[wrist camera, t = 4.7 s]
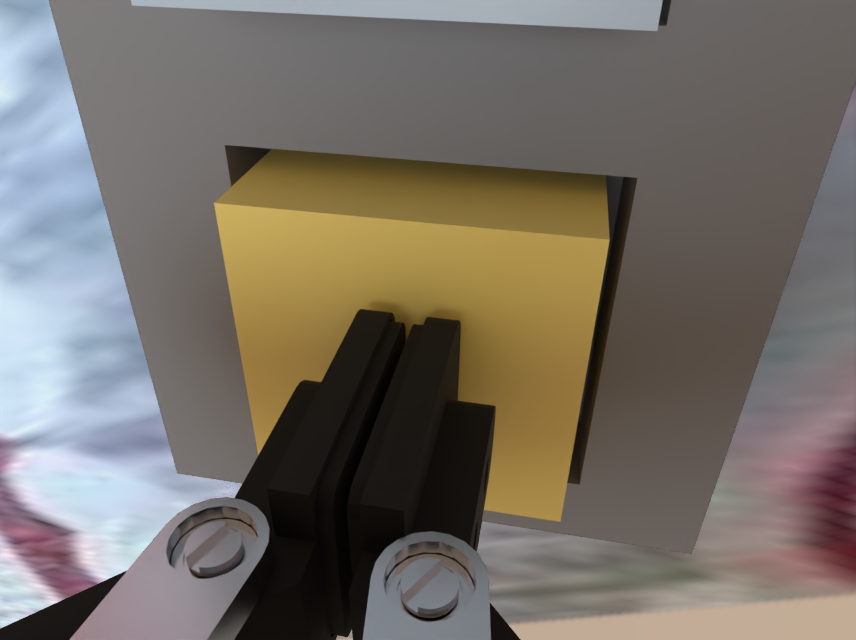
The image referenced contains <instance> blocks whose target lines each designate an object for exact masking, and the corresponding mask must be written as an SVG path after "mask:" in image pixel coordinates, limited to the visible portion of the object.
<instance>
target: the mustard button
mask: <svg viewBox="0 0 856 640" xmlns="http://www.w3.org/2000/svg"><path fill="white" fill-rule="evenodd" d="M214 206H215V212H216V218H217V223H218V229H219V235H220V240H221V246H222V252H223V257H224V263H225V269H226V274H227V280H228V286H229V292H230V297H231V303H232V309H233V314H234V320H235V326H236V331H237V337H238V343H239V348H240V354H241V360H242V365H243V371H244V377H245V382H246V388H247V394H248V400H249V405H250V411H251V417H252V422H253V428H254V434H255V439H256V445H257V451H258V455H259V453H260V451H261V450H262V448H263V446H264V444H265V442H266V441H267V439H268V437H269V435H270V433H271V432H272V430H273V428H274V426H275V424H276V423H277V421H278V419H279V417H280V415H281V414H282V412H283V410H284V408H285V406H286V405H287V403H288V401H289V399H290V397H291V396H292V394H293V392H294V390H295V388H296V387H297V386H298V384H299V383H300V382H301V381H303V380H309V381H317V382H322V380H323V378H324V376H325V374H326V372H327V370H328V368H329V366H330V364H331V362H332V360H333V358H334V356H335V354H336V352H337V350H338V348H339V346H340V345H341V343H342V341H343V339H344V337H345V335H346V333H347V331H348V329H349V327H350V325H351V323H352V321H353V319H354V317H355V315H356V313H357V312H358V310H360V309H366V310H374V311H383V312H391V313H393V314H394V318H395V322H402V323H404V324H405V331H406V340H407V338H408V335H409V333H410V330H411V327H412V325H413V324H418V325H424V322H425V320H426V318H427V317H434V318H442V319H451V320H459V321H460V322H461V338H460V360H459V383H458V401H464V402H471V403H479V404H486V405H493V406H496V414H495V426H494V438H493V448H492V457H491V466H490V473H489V480H488V487H487V493H486V499H485V505H484V510H487V511H493V512H500V513H506V514H513V515H519V516H526V517H532V518H538V519H545V520H551V521H558V522H560V521H561V516H562V510H563V504H564V498H565V493H566V487H567V481H568V476H569V470H570V464H571V458H572V453H573V447H574V441H575V435H576V430H577V424H578V418H579V413H580V407H581V401H582V395H583V390H584V384H585V378H586V373H587V367H588V361H589V355H590V350H591V344H592V338H593V333H594V327H595V321H596V315H597V310H598V304H599V298H600V292H601V287H602V281H603V275H604V270H605V264H606V258H607V252H608V247H609V241H610V237H609V220H608V203H607V186H606V175H596V174H583V173H571V172H558V171H546V170H533V169H521V168H508V167H496V166H483V165H470V164H458V163H445V162H433V161H420V160H408V159H395V158H382V157H370V156H357V155H345V154H332V153H320V152H307V151H295V150H282V149H271V150H270V151H269V152H268V153H267V154H266V155H265V156H264V157H263V158H262V159H261V160H260V161H258V162H257V163H256V164H255V165H254V166H253V167H252V168H251V169H250V170H249V171H248V172H247V173H246V174H245V175H243V176H242V177H241V178H240V179H239V180H238V181H237V182H236V183H235V184H234V185H233V186H232V187H231V188H229V189H228V190H227V191H226V192H225V193H224V194H223V195H222V196H221V197H220V198H219V199H218V200H217V201H216V202H214Z"/></svg>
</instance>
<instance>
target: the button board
mask: <svg viewBox="0 0 856 640" xmlns="http://www.w3.org/2000/svg"><path fill="white" fill-rule="evenodd" d="M49 3H50V7H51V11H52V14H53V18H54V22H55V25H56V29H57V33H58V36H59V40H60V44H61V47H62V51H63V55H64V58H65V62H66V66H67V70H68V73H69V77H70V81H71V84H72V88H73V92H74V95H75V99H76V103H77V106H78V110H79V114H80V117H81V121H82V125H83V128H84V132H85V136H86V139H87V143H88V147H89V150H90V154H91V158H92V161H93V165H94V169H95V172H96V176H97V180H98V183H99V187H100V191H101V195H102V198H103V202H104V206H105V209H106V213H107V217H108V220H109V224H110V228H111V231H112V235H113V239H114V242H115V246H116V250H117V253H118V257H119V261H120V264H121V268H122V272H123V275H124V279H125V283H126V286H127V290H128V294H129V297H130V301H131V305H132V309H133V312H134V316H135V320H136V323H137V327H138V331H139V334H140V338H141V342H142V345H143V349H144V353H145V356H146V360H147V364H148V367H149V371H150V375H151V378H152V382H153V386H154V389H155V393H156V397H157V400H158V404H159V408H160V411H161V415H162V419H163V422H164V426H165V430H166V434H167V437H168V441H169V445H170V448H171V452H172V456H173V459H174V463H175V467H176V470H177V473H179V474H185V475H192V476H198V477H204V478H211V479H217V480H224V481H230V482H236V483H243V482H244V480H245V478H246V477H247V475H248V473H249V471H250V469H251V468H252V466H253V464H254V462H255V460H256V459H257V457H258V451H257V445H256V439H255V434H254V428H253V422H252V417H251V411H250V405H249V400H248V394H247V388H246V382H245V377H244V371H243V365H242V360H241V354H240V348H239V343H238V337H237V331H236V326H235V320H234V314H233V309H232V303H231V297H230V292H229V286H228V280H227V274H226V269H225V263H224V257H223V252H222V246H221V240H220V235H219V229H218V223H217V218H216V212H215V206H214V202H216V201H217V200H218V199H219V198H220V197H221V196H222V195H223V194H224V193H225V192H226V191H227V190H228V189H229V188H231V187H232V186H233V185H234V184H235V183H236V182H237V181H238V180H239V179H240V178H241V177H242V176H243V175H245V174H246V173H247V172H248V171H249V170H250V169H251V168H252V167H253V166H254V165H255V164H256V163H257V162H258V161H260V160H261V159H262V158H263V157H264V156H265V155H266V154H267V153H268V152H269V151H270V150H271V149H282V150H295V151H307V152H320V153H332V154H345V155H357V156H370V157H382V158H395V159H408V160H420V161H433V162H445V163H458V164H470V165H483V166H496V167H508V168H521V169H533V170H546V171H558V172H571V173H583V174H596V175H606V186H607V203H608V220H609V237H610V241H609V247H608V252H607V258H606V264H605V270H604V275H603V281H602V287H601V292H600V298H599V304H598V310H597V315H596V321H595V327H594V333H593V338H592V344H591V350H590V355H589V361H588V367H587V373H586V378H585V384H584V390H583V395H582V401H581V407H580V413H579V418H578V424H577V430H576V435H575V441H574V447H573V453H572V458H571V464H570V470H569V476H568V481H567V487H566V493H565V498H564V504H563V510H562V516H561V521H560V522H558V521H551V520H545V519H538V518H532V517H526V516H519V515H513V514H506V513H500V512H493V511H487V510H484V511H483V517H482V521H485V522H491V523H498V524H504V525H510V526H517V527H523V528H529V529H536V530H542V531H548V532H555V533H561V534H568V535H574V536H580V537H587V538H593V539H599V540H606V541H612V542H619V543H625V544H631V545H638V546H644V547H650V548H657V549H663V550H670V551H676V552H682V553H689V554H692V552H693V549H694V546H695V543H696V540H697V537H698V534H699V532H700V529H701V526H702V523H703V520H704V517H705V514H706V511H707V509H708V506H709V503H710V500H711V497H712V494H713V491H714V488H715V485H716V483H717V480H718V477H719V474H720V471H721V468H722V465H723V462H724V460H725V457H726V454H727V451H728V448H729V445H730V442H731V439H732V436H733V434H734V431H735V428H736V425H737V422H738V419H739V416H740V413H741V411H742V408H743V405H744V402H745V399H746V396H747V393H748V390H749V387H750V385H751V382H752V379H753V376H754V373H755V370H756V367H757V364H758V362H759V359H760V356H761V353H762V350H763V347H764V344H765V341H766V338H767V336H768V333H769V330H770V327H771V324H772V321H773V318H774V315H775V313H776V310H777V307H778V304H779V301H780V298H781V295H782V292H783V289H784V287H785V284H786V281H787V278H788V275H789V272H790V269H791V266H792V264H793V261H794V258H795V255H796V252H797V249H798V246H799V243H800V240H801V238H802V235H803V232H804V229H805V226H806V223H807V220H808V217H809V215H810V212H811V209H812V206H813V203H814V200H815V197H816V194H817V191H818V189H819V186H820V183H821V180H822V177H823V174H824V171H825V168H826V166H827V163H828V160H829V157H830V154H831V151H832V148H833V145H834V142H835V140H836V137H837V134H838V131H839V128H840V125H841V122H842V119H843V117H844V114H845V111H846V108H847V105H848V102H849V99H850V96H851V93H852V91H853V88H854V85H855V82H856V0H663V2H662V8H661V13H660V19H659V24H658V29H657V31H645V30H624V29H603V28H583V27H562V26H542V25H521V24H500V23H480V22H459V21H439V20H418V19H397V18H377V17H356V16H336V15H315V14H294V13H274V12H253V11H233V10H212V9H191V8H171V7H150V6H132V3H131V0H49Z"/></svg>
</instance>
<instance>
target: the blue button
mask: <svg viewBox="0 0 856 640" xmlns="http://www.w3.org/2000/svg"><path fill="white" fill-rule="evenodd" d="M662 2H663V0H131V3H132V6H150V7H171V8H191V9H212V10H233V11H253V12H274V13H294V14H315V15H336V16H356V17H377V18H397V19H418V20H439V21H459V22H480V23H500V24H521V25H542V26H562V27H583V28H603V29H624V30H645V31H657V29H658V24H659V19H660V13H661V8H662Z"/></svg>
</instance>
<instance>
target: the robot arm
mask: <svg viewBox="0 0 856 640" xmlns="http://www.w3.org/2000/svg"><path fill="white" fill-rule="evenodd" d="M460 338H461V322H460V321H459V320H451V319H442V318H434V317H427V318H426V320H425V322H424V325H418V324H413V325H412V327H411V330H410V333H409V335H408V338H407V340H406V331H405V324H404V323H402V322H395V318H394V314H393V313H391V312H383V311H374V310H366V309H360V310H358V312H357V313H356V315H355V317H354V319H353V321H352V323H351V325H350V327H349V329H348V331H347V333H346V335H345V337H344V339H343V341H342V343H341V345H340V346H339V348H338V350H337V352H336V354H335V356H334V358H333V360H332V362H331V364H330V366H329V368H328V370H327V372H326V374H325V376H324V378H323V380H322V382H317V381H309V380H303V381H301V382H300V383H299V384H298V386H297V387H296V388H295V390H294V392H293V394H292V396H291V397H290V399H289V401H288V403H287V405H286V406H285V408H284V410H283V412H282V414H281V415H280V417H279V419H278V421H277V423H276V424H275V426H274V428H273V430H272V432H271V433H270V435H269V437H268V439H267V441H266V442H265V444H264V446H263V448H262V450H261V451H260V453H259V455H258V457H257V459H256V460H255V462H254V464H253V466H252V468H251V469H250V471H249V473H248V475H247V477H246V478H245V480H244V482H243V484H242V486H241V487H240V489H239V491H238V493H237V495H236V496H235V498H228V497H226V498H215V499H209V500H206V501H203V502H199V503H196V504H193V505H192V506H190V507H188V508H186V509H185V510H183V511H181V512H180V513H178V514H177V515H176V516H175V517H174V518H173V519H171V520H170V521H169V522H168V523H167V524H166V525H165V526H164V527H163V529H162V530H161V531H160V532H159V533H158V535H157V536H156V537H155V538H154V539H153V541H152V542H151V543H150V544H149V545H148V547H147V548H146V549H145V550H144V551H143V553H142V554H141V555H140V556H139V557H138V558H137V560H136V561H135V562H134V563H133V564H132V566H131V567H130V568H129V569H128V570H127V571H125V572H123V573H121V574H119V575H117V576H114V577H112V578H110V579H108V580H106V581H103V582H101V583H99V584H97V585H95V586H93V587H90V588H88V589H86V590H84V591H82V592H79V593H77V594H75V595H73V596H71V597H69V598H66V599H64V600H62V601H60V602H58V603H56V604H53V605H51V606H49V607H47V608H45V609H42V610H40V611H38V612H36V613H34V614H32V615H29V616H27V617H25V618H23V619H21V620H18V621H16V622H14V623H12V624H10V625H8V626H5V627H3V628H1V629H0V640H336V637H337V635H339V636H344V637H348V636H349V634H350V632H351V629H352V633H353V640H520V639H519V637H518V636H517V635H516V634H515V633H514V631H513V630H512V629H511V628H510V627H509V625H508V624H507V623H506V622H505V620H504V619H503V618H502V617H501V616H500V614H499V613H498V612H497V611H496V610H495V608H494V607H493V606H492V605H491V603H490V596H489V579H488V575H487V570H486V566H485V564H484V563H483V561H482V559H481V558H480V556H479V554H478V553H477V548H478V541H479V535H480V529H481V523H482V517H483V511H484V505H485V499H486V493H487V487H488V480H489V473H490V466H491V457H492V448H493V438H494V426H495V414H496V406H493V405H486V404H479V403H471V402H464V401H458V383H459V360H460Z"/></svg>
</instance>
